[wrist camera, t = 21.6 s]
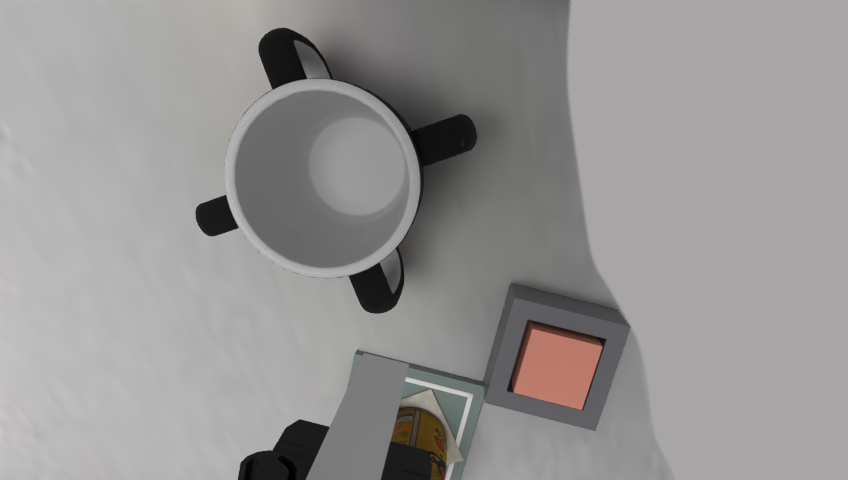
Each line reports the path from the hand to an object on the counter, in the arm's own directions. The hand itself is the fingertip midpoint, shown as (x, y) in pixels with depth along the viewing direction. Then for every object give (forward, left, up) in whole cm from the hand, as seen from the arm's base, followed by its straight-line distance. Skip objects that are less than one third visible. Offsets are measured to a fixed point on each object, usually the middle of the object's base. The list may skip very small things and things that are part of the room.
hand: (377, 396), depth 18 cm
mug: (-4, -7, -29) cm, 30 cm away
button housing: (+7, +12, -28) cm, 32 cm away
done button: (+7, +12, -27) cm, 30 cm away
